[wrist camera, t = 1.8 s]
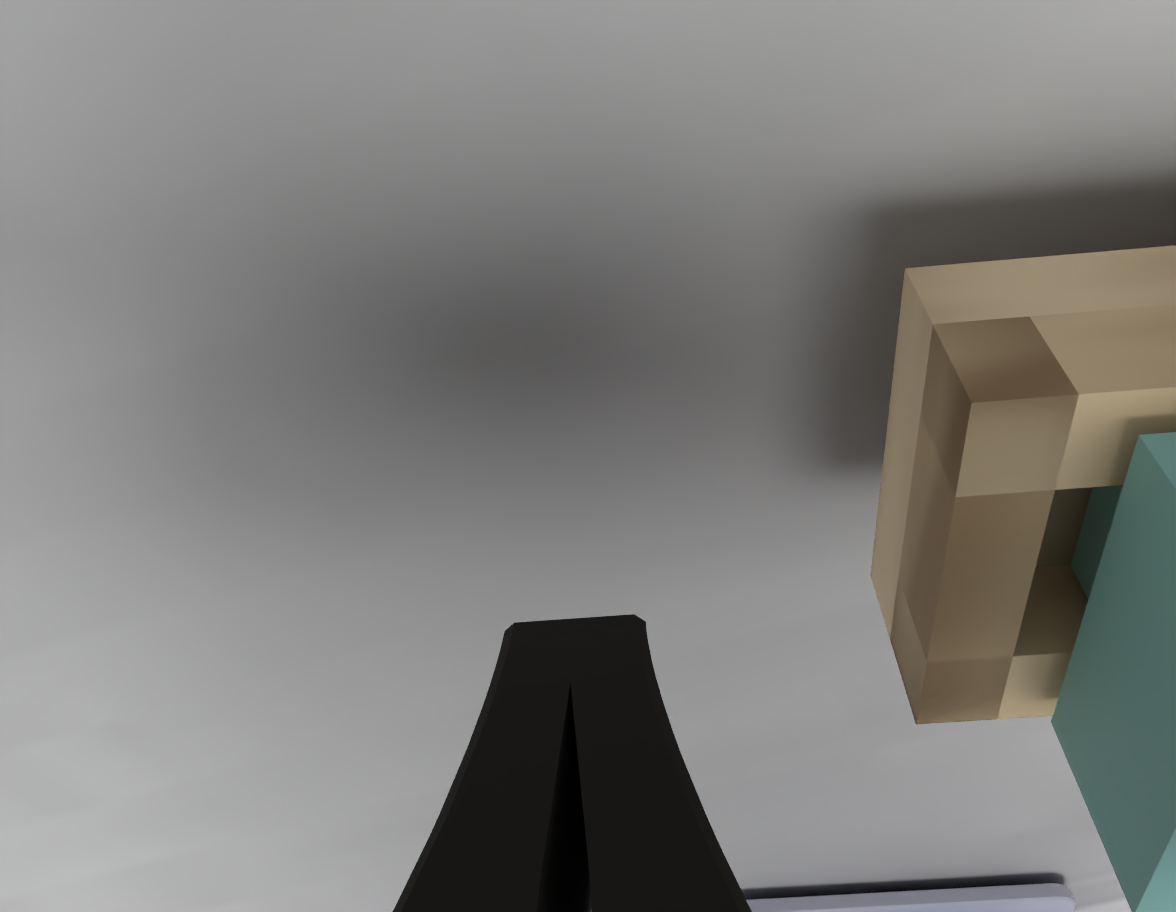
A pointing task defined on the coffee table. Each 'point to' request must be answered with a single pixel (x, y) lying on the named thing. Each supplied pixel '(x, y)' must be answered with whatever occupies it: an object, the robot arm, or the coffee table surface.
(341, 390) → the coffee table surface
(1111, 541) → the teal cube
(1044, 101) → the coffee table surface
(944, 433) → the tan wooden slatted block
